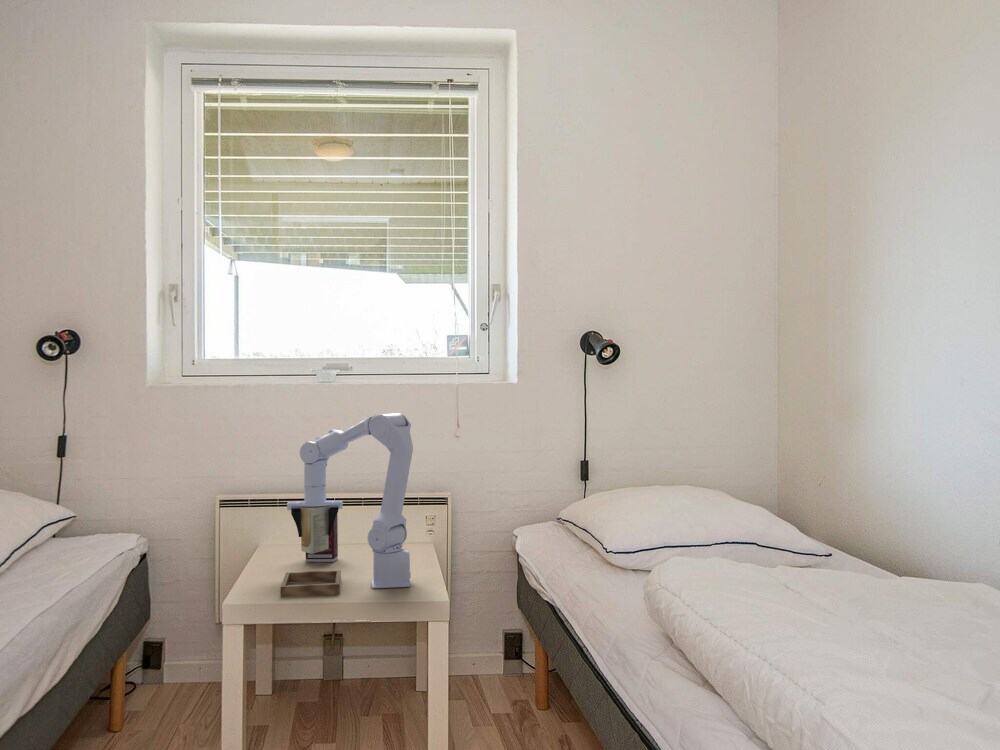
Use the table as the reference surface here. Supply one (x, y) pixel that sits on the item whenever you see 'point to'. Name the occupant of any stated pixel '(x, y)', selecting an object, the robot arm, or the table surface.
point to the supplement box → (332, 551)
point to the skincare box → (314, 529)
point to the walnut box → (311, 588)
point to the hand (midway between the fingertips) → (315, 535)
